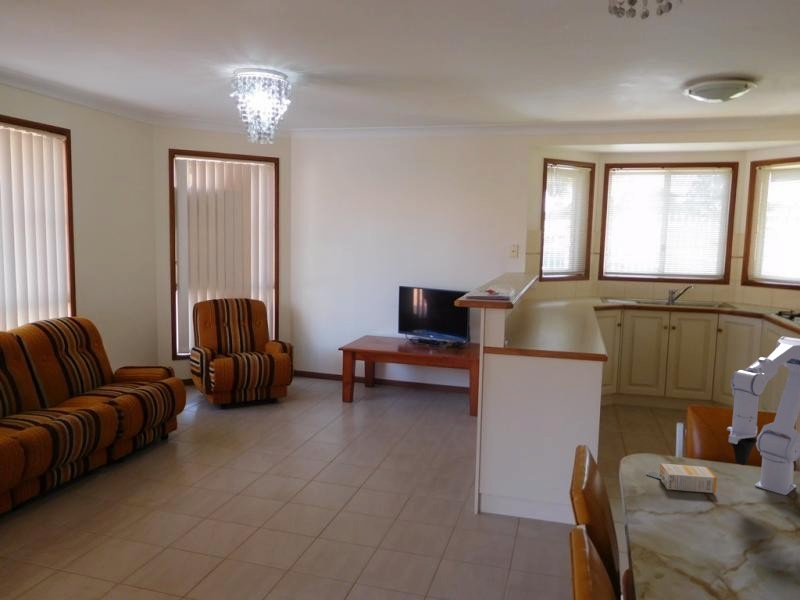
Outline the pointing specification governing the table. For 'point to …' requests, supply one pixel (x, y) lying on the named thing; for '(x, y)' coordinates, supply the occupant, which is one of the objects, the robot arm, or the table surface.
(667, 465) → the supplement box
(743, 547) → the table surface
